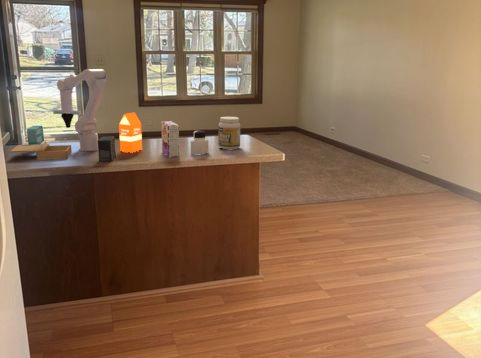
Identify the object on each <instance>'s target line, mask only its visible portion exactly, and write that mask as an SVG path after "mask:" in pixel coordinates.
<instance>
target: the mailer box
mask: <svg viewBox="0 0 481 358" xmlns="http://www.w3.org/2000/svg"><path fill="white" fill-rule="evenodd" d="M72 150H73V149H72V145H71V144H64V145H62V144H61V145H49V146H48V147H47V148H46V149H45V150H44V151H43V152H35V155H36V160H37V161H39V160H40V161H41V160H43V161H45V160H68V159H69V158H70V156H71V155H72V152H73V151H72Z"/></svg>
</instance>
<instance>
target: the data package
mask: <svg viewBox="0 0 481 358" xmlns="http://www.w3.org/2000/svg"><path fill="white" fill-rule="evenodd" d="M44 135H45V134H44V127H43V125H32V126H30V127H28V128H27V129H26V136H27V143H28V144H27V145H40V144H41V143H42V142H43V141H45V137H44Z"/></svg>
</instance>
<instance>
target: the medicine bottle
mask: <svg viewBox="0 0 481 358" xmlns="http://www.w3.org/2000/svg"><path fill="white" fill-rule="evenodd" d="M207 152H208V153H209V139H207V138H206V131H205V130H195V131H193V139H192V140H190V155H192V154H202V155H201V156H204V155H203V154H205V153H207ZM208 153H207V154H208ZM205 155H206V154H205Z"/></svg>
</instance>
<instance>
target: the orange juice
mask: <svg viewBox="0 0 481 358" xmlns="http://www.w3.org/2000/svg"><path fill="white" fill-rule="evenodd" d="M118 130H119V131H118V132H119V147H120V152H121V151H122V152H123V153H128V152H130V154H133V152H134V153H136V151H137V152H140V151H139V150H141V151H143V139H142V138H143V137H142V136H143V135H142V134H143V133H142V123H141V120H139V118H138V116H137V114H136V112H128V113H124V114H123V116H122V118H121V120H120V121H119V124H118Z"/></svg>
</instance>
